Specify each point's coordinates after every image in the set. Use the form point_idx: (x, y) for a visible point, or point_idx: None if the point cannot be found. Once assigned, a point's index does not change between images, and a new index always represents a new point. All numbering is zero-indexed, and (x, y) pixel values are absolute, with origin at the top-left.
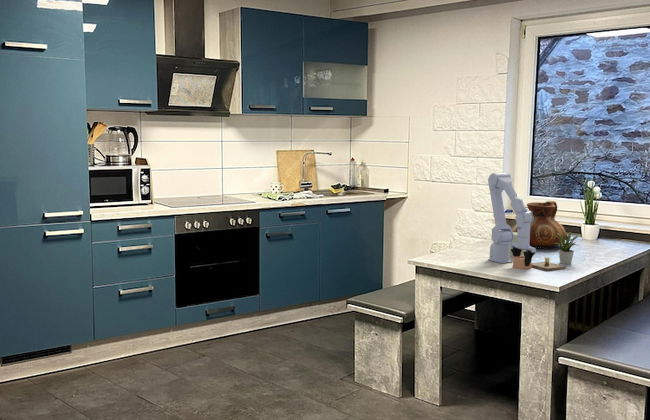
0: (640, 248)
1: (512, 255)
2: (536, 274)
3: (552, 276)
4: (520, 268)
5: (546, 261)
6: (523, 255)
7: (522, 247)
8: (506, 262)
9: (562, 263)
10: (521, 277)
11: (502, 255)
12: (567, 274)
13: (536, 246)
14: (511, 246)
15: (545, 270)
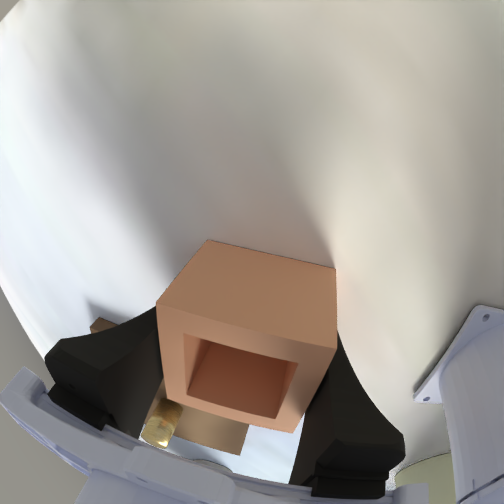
0: None
1: (447, 458)
2: (51, 183)
3: (13, 221)
4: (224, 246)
5: (153, 416)
6: (400, 477)
7: (97, 455)
8: (445, 353)
9: (209, 461)
10: (47, 21)
11: (493, 378)
12: (38, 313)
13: None
14: (412, 495)
15: (108, 322)
